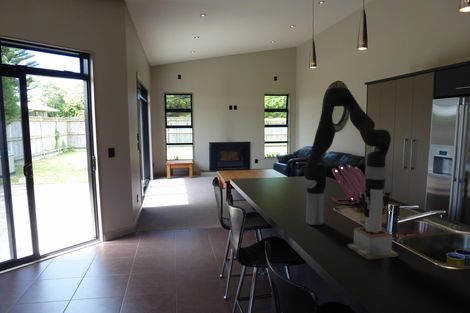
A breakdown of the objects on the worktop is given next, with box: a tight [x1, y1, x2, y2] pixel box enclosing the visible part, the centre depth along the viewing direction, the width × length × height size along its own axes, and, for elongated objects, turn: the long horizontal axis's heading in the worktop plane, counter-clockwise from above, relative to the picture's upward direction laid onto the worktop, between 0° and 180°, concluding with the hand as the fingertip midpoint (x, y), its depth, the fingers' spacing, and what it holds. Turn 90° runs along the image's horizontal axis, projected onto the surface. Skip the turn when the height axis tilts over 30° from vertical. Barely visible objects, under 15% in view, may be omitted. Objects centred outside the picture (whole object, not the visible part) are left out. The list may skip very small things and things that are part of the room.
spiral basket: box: [330, 164, 366, 205], centre depth 216 cm, size 28×28×27 cm
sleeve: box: [353, 226, 393, 255], centre depth 133 cm, size 11×11×8 cm
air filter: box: [364, 189, 384, 235], centre depth 132 cm, size 6×6×25 cm
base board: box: [347, 242, 399, 261], centre depth 134 cm, size 14×14×1 cm
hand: (373, 216), depth 132 cm, fingers closed on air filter, 5 cm apart
